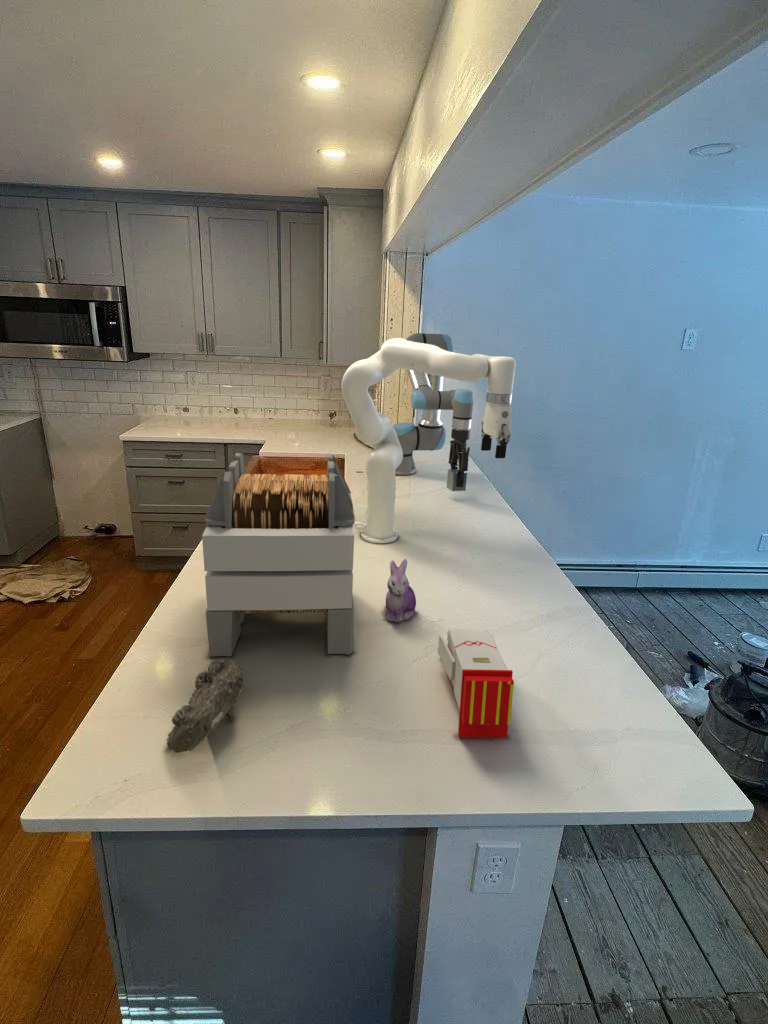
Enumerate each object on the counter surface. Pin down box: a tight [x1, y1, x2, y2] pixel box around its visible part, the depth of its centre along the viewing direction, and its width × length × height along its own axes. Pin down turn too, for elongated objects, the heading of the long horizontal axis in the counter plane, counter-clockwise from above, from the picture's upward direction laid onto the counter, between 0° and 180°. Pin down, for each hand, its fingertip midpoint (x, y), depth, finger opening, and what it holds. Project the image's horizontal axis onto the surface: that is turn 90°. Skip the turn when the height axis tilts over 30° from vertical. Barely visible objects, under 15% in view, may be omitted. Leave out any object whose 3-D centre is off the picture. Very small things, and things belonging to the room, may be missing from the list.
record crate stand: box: [201, 452, 356, 658], centre depth 136 cm, size 34×33×41 cm
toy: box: [437, 628, 515, 738], centre depth 117 cm, size 12×13×30 cm
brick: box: [446, 468, 468, 492], centre depth 234 cm, size 6×6×8 cm
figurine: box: [384, 558, 417, 623], centre depth 145 cm, size 9×10×15 cm
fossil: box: [166, 658, 245, 754], centre depth 106 cm, size 22×10×15 cm
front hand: (492, 454), depth 177 cm, fingers open, 9 cm apart
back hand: (456, 484), depth 235 cm, fingers closed on brick, 6 cm apart
